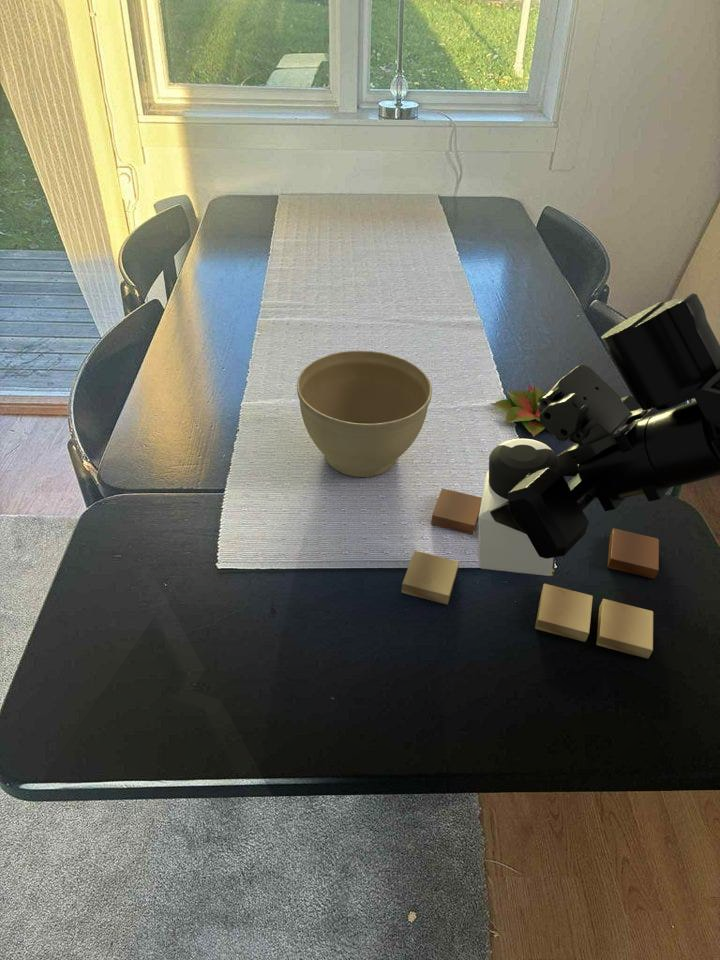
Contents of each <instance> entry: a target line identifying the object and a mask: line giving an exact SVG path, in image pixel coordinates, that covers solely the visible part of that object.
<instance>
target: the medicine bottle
mask: <svg viewBox="0 0 720 960" xmlns="http://www.w3.org/2000/svg"><path fill="white" fill-rule="evenodd" d="M545 468H550V469H552V470H554V471H556V472H557V454H556V452H555V451H554V450H553V449H552V448H551V447H549V445H547V444H546V443H544V442H541V441H538V440H535V439H532V438H531V439H530V438H513V439H508V440H505V441H502V442H501V443H500V444H497V446H496V447H494V448H493V449H492V450H491V452H490V453H489V457H488V470H487V471H486V474H485V479H484V485H483V491H482V495H481V497H482V501H481V506H480V512H479V516H478V567H479V568H480V569H482V570H490V571H491V570H492V571H500V572H509V573H517V574H527V575H528V574H529V575H537V576H545V577H546V576H547V577H552V576H554V573H555V566H556V557H554V558H548V559H545V558H542V557H539V555H538V553H537V552H536V550H535V548H534V546H533V545H532V543H531V541H530V539H529V538H528V536H527V534H524V533H522V532H520V531H517V530H515V529H512V528H510V527H507V526H505V525H502V524H500V523H497V522H495V521H494V519H493V517H492V516H491V514H490V511H491V510H492V509H494V508H496V507H498V506H499V505H501V504H503V503H505V502H507V501H508V494H509V492H510V491H511V490H512V489H513V488H514V487H515V486H516V485H517V484H518V483H519V482H520V481H521V480H523V479H524V478H525V477H526V476H527V475H528V474H529V473H530V474H533V473H535V472H537V471H539V470H542V469H545Z"/></svg>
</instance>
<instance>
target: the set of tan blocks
mask: <svg viewBox="0 0 720 960" xmlns="http://www.w3.org/2000/svg"><path fill="white" fill-rule="evenodd" d="M459 566H460V561H458V560H455V559H454V560H453V559H450V558H446V557H442V556H439V555H435V554H430V553H426V552H422V551H418V550H414V551H413V554H412V555H411V558H410V562H409V563H408V567H407V569H406V572H405V575H404V577H403V580H402V583H401V590H400V591H401V592H400V593H402V594H405V595H409V596H412V597H416V598H419V599H424V600H427V601H432V602H434V603H439V604H442V605H446V606H448V605H449V602H450V599H451V596H452V592H453V589H454V586H455V581H456V579H457V576H458V572H459ZM593 599H594V596H593V595H591V594H588V593H583V592H579V591H576V590H571V589H568V588H565V587H564V588H563V587H560V586H556V585H551V584H548V583H543V586H542V589H541V591H540V597H539V603H538V609H537V615H536V621H535V627H534V629H535V630H537V631H538V630H539V631H541V632H546V633H549V634H553V635H557V636H561V637H563V638H567V639H572V640H576V641H579V642H583V643H586V642H587V640H588V637H589V635H590V629H591V618H592V609H593ZM595 641H596V643H595V645H596V646H598V647H602V648H606V649H609V650H613V651H618V652H621V653H624V654H628V655H630V656H631V655H632V656H635V657H639V658H643V659H647V660H649V658H650V657H651V655H652V654H653V651H654V611H653V610H649V609H645V608H641V607H637V606H633V605H629V604H626V603H621V602H619V601H615V600H611V599H606V598H603V599H601V602H600V604H599V608H598V618H597V631H596V640H595Z"/></svg>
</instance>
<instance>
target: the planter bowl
mask: <svg viewBox="0 0 720 960" xmlns="http://www.w3.org/2000/svg"><path fill="white" fill-rule="evenodd" d="M296 392H297V397H298V400H299V407H300V413H301V417H302V421H303V424H304V427H305V429H306V431H307V434H308V435H309V437H310V439H311V441H312V442H313V443H314V445H315V446H316V447H317V449H318V450H319V451H320V452H321V453H322V454H323V455H324V459H325V460H326V462H327V464H328V465H329V466H330V467H331V468H332V469H334V470H335V471H337V472H339V473H341V474H344V475H348V476H350V477H351V476H352V477H357V478H367V477H370V478H371V477H376V476H379V475H381V474H384V473H386V472H387V471H389V470H391V469H392V468H393V467H394V466H395V465H396V463H397V461H398V459H399V458H400V457H402V455H404V453H406V452H407V451H408V449H409V448H410V447H411V446H412V445H413V443H414V442H415V441H416V439H417V437H418V436H419V434H420V432H421V430H422V428H423V425H424V423H425V420H426V417H427V414H428V408H429V406H430V403H431V400H432V396H433V386H432V383H431V380H430V379H429V376H427V374H426V373H425V372H424V371H423V370H422V369H421V368H419V366H417V365H415V364H414V363H412V362H411V361H409V360H407V359H405V358H402V357H400V356H397V355H394V354H390V353H387V352H381V351H373V350H346V351H338V352H333V353H329V354H327V355H324V356H322V357H319V358H317V359H315V360H314V361H312V362H311V363H309V364H308V365H307V366H305V367H304V368H303V370H301V372H300V374H299V376H298V378H297V382H296Z"/></svg>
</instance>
